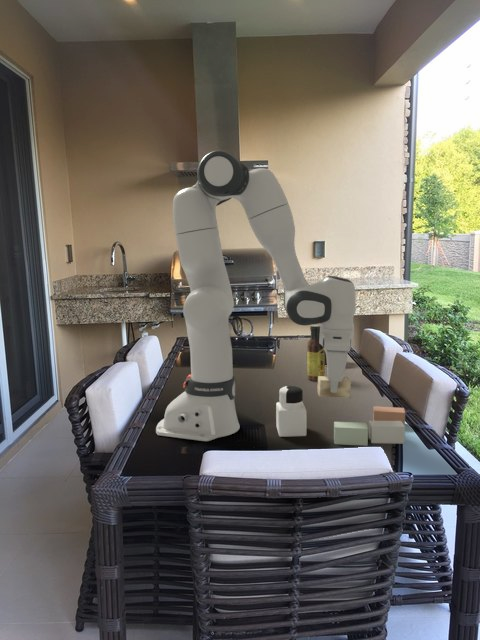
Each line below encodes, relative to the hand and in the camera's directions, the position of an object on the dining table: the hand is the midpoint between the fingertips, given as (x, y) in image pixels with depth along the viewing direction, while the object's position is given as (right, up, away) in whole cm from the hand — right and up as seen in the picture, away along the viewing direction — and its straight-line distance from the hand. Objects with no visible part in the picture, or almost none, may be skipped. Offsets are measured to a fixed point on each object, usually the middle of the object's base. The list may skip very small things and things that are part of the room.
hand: (333, 388), depth 133 cm
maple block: (0, -2, 0) cm, 2 cm away
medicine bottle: (-11, -11, -1) cm, 16 cm away
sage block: (+3, -12, -9) cm, 15 cm away
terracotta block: (+15, -10, +2) cm, 19 cm away
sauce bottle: (+3, -3, +48) cm, 49 cm away
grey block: (+12, -12, -8) cm, 19 cm away
